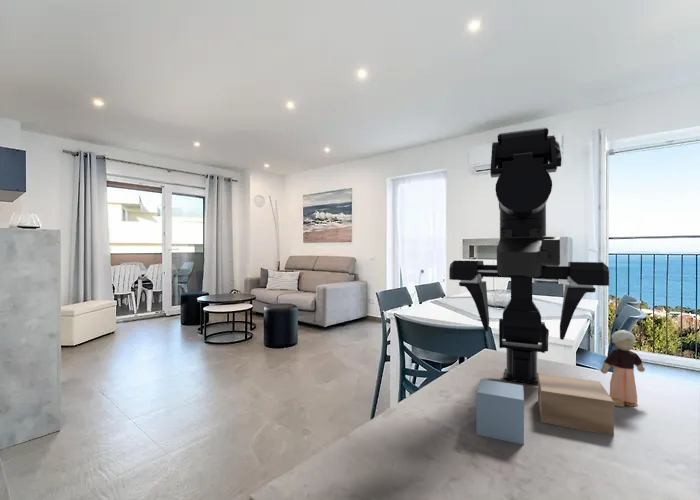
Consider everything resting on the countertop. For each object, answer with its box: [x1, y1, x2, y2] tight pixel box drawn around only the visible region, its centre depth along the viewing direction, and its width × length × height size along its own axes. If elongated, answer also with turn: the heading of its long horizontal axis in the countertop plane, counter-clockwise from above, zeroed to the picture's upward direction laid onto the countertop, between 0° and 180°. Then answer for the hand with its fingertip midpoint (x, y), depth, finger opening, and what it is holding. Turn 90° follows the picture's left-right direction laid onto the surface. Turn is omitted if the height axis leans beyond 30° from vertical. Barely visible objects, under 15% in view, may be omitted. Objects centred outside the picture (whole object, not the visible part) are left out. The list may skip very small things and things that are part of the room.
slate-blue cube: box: [475, 378, 525, 446], centre depth 50 cm, size 6×6×6 cm
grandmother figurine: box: [600, 329, 646, 407], centre depth 60 cm, size 8×4×13 cm, turn 105°
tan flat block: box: [537, 372, 615, 437], centre depth 55 cm, size 9×9×5 cm
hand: (522, 334), depth 48 cm, fingers open, 9 cm apart
